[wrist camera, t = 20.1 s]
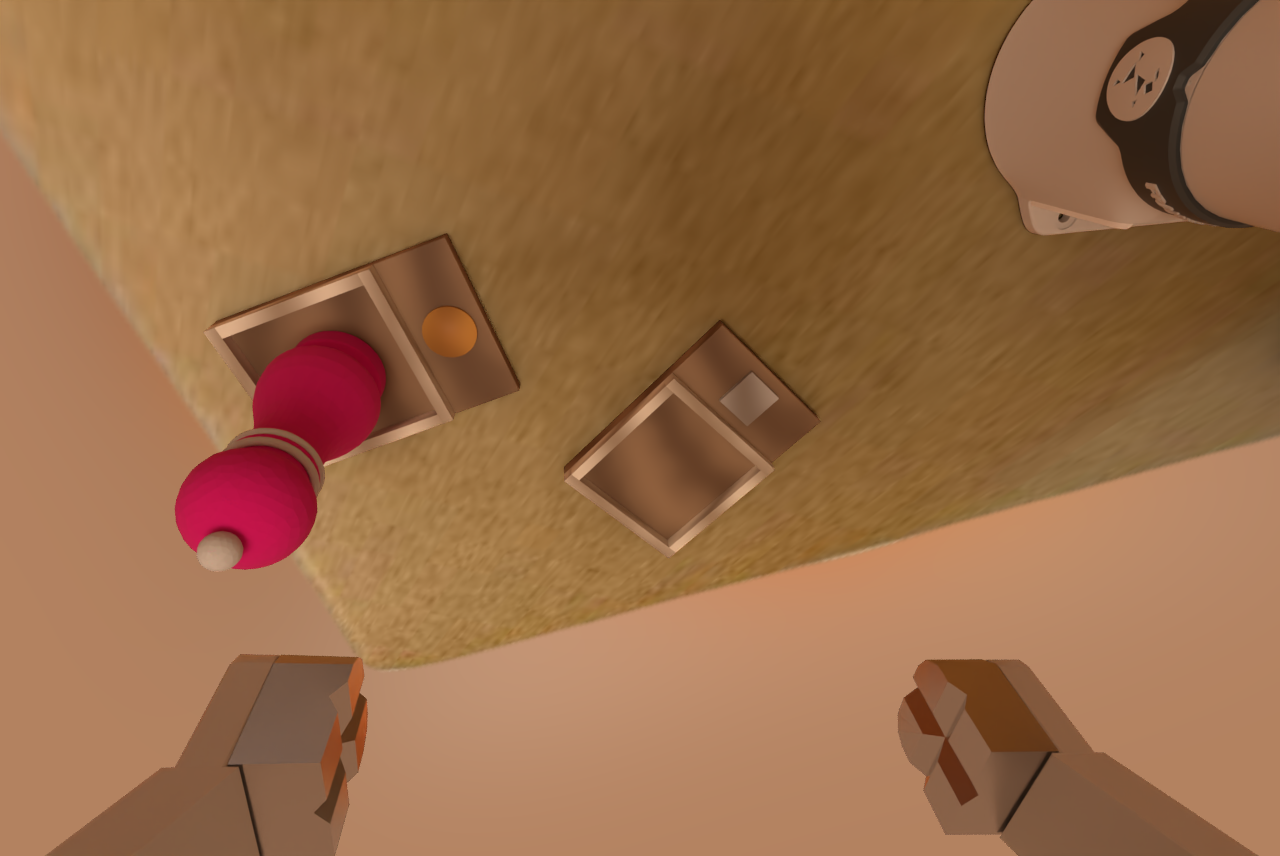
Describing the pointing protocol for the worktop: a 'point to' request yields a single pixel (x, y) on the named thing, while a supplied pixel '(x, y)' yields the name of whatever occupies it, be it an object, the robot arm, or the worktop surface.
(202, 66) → the worktop surface
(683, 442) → the grey tag dock
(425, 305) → the orange tag dock
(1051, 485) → the worktop surface
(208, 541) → the pepper mill
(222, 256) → the worktop surface
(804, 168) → the worktop surface
